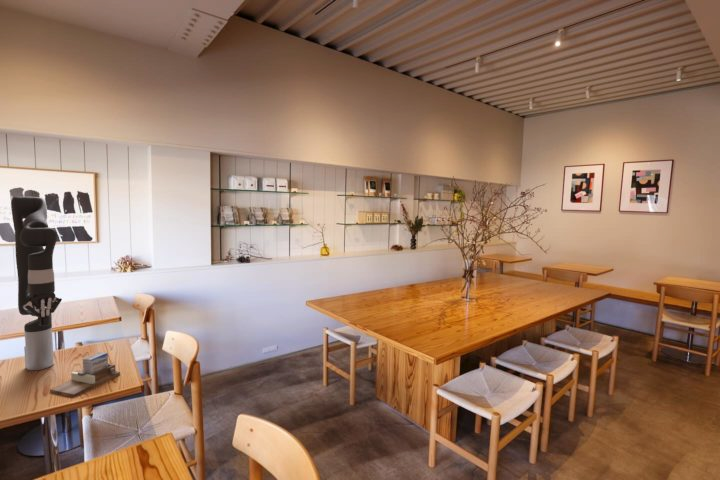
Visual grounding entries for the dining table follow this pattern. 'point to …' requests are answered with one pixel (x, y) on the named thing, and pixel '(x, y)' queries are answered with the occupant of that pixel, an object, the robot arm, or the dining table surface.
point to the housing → (77, 387)
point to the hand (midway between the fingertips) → (43, 325)
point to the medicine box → (95, 363)
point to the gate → (83, 377)
